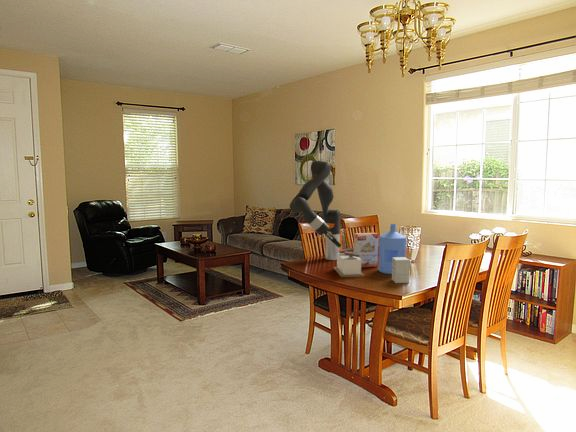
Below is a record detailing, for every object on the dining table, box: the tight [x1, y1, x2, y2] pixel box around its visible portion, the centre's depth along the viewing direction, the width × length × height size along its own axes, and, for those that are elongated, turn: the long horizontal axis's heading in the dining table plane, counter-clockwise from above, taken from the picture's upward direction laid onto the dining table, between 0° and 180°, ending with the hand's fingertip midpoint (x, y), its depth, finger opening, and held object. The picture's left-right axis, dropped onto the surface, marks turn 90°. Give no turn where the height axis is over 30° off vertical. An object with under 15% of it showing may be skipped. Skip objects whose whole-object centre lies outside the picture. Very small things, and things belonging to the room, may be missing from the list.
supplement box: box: [391, 256, 411, 284], centre depth 225 cm, size 7×7×13 cm
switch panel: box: [333, 253, 365, 278], centre depth 245 cm, size 21×13×11 cm, turn 5°
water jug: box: [377, 223, 407, 275], centre depth 246 cm, size 16×16×28 cm
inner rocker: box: [339, 247, 354, 254], centre depth 250 cm, size 4×8×2 cm, turn 95°
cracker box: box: [353, 232, 379, 269], centre depth 260 cm, size 14×6×21 cm, turn 105°
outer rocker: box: [344, 251, 359, 257], centre depth 239 cm, size 4×8×2 cm, turn 95°
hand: (339, 246), depth 238 cm, fingers closed
